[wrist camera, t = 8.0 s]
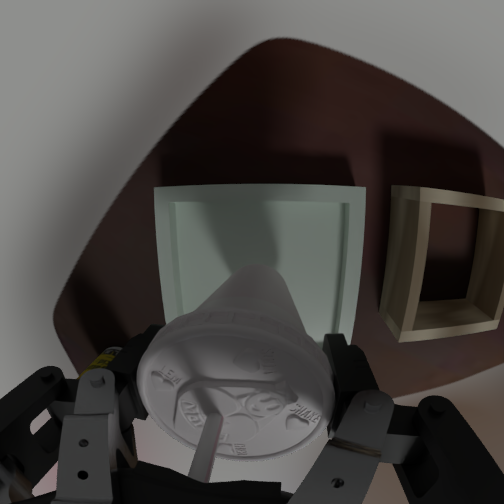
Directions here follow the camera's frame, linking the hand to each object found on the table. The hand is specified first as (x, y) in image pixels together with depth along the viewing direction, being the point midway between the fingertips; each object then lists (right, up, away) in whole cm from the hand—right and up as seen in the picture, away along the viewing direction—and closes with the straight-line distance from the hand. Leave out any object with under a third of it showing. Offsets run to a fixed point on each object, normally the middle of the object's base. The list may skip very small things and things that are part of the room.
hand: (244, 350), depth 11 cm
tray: (+1, +2, +9) cm, 9 cm away
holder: (+15, +4, +7) cm, 17 cm away
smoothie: (+1, +2, +6) cm, 6 cm away
